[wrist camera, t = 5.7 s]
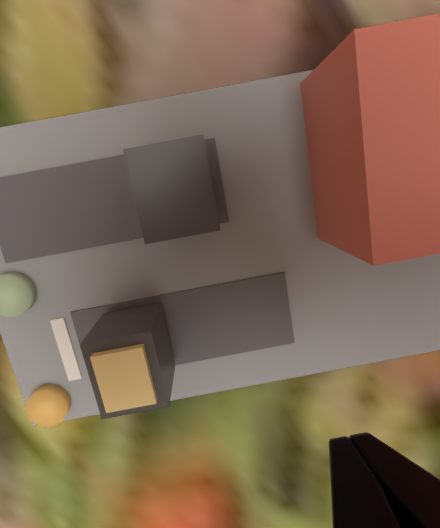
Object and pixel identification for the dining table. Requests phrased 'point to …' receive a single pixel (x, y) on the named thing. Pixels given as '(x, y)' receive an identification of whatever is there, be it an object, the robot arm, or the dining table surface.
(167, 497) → the dining table surface
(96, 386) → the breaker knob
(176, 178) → the block
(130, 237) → the breaker panel
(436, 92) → the cap
